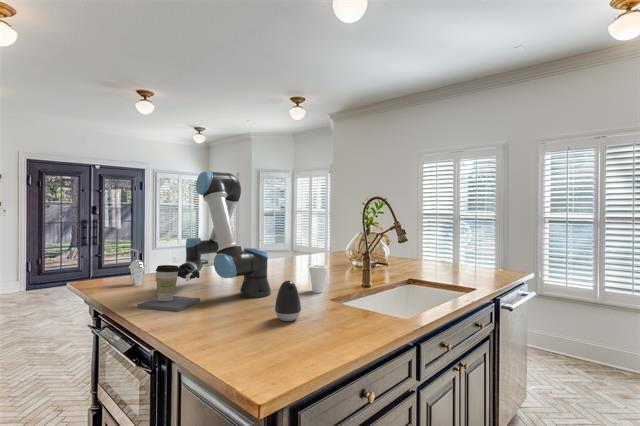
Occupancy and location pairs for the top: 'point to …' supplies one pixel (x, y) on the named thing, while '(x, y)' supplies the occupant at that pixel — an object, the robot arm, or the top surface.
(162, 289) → the coffee cup
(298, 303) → the black egg shaped speaker
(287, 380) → the top surface
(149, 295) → the top surface
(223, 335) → the top surface
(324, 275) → the foam cup
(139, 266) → the cup with straw
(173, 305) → the mat
